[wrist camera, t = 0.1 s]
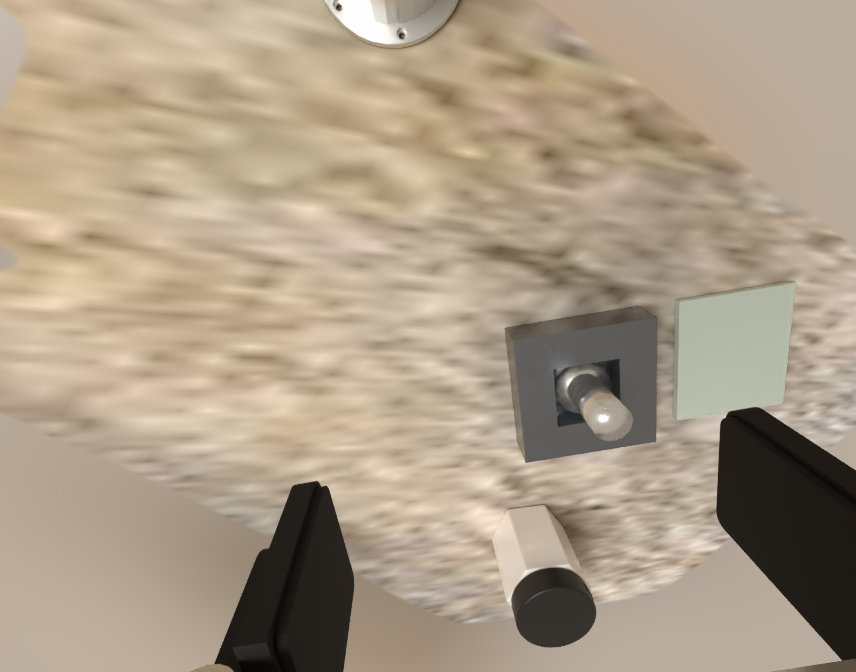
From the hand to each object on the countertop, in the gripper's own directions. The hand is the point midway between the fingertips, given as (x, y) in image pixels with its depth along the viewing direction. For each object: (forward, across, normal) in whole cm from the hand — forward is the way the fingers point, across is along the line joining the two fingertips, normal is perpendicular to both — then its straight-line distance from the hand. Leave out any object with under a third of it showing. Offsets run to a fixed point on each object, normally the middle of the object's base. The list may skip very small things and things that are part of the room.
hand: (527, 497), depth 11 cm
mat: (+37, -30, +16) cm, 50 cm away
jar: (+37, -6, +36) cm, 52 cm away
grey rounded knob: (+36, -13, +16) cm, 41 cm away
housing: (+37, -13, +16) cm, 42 cm away
